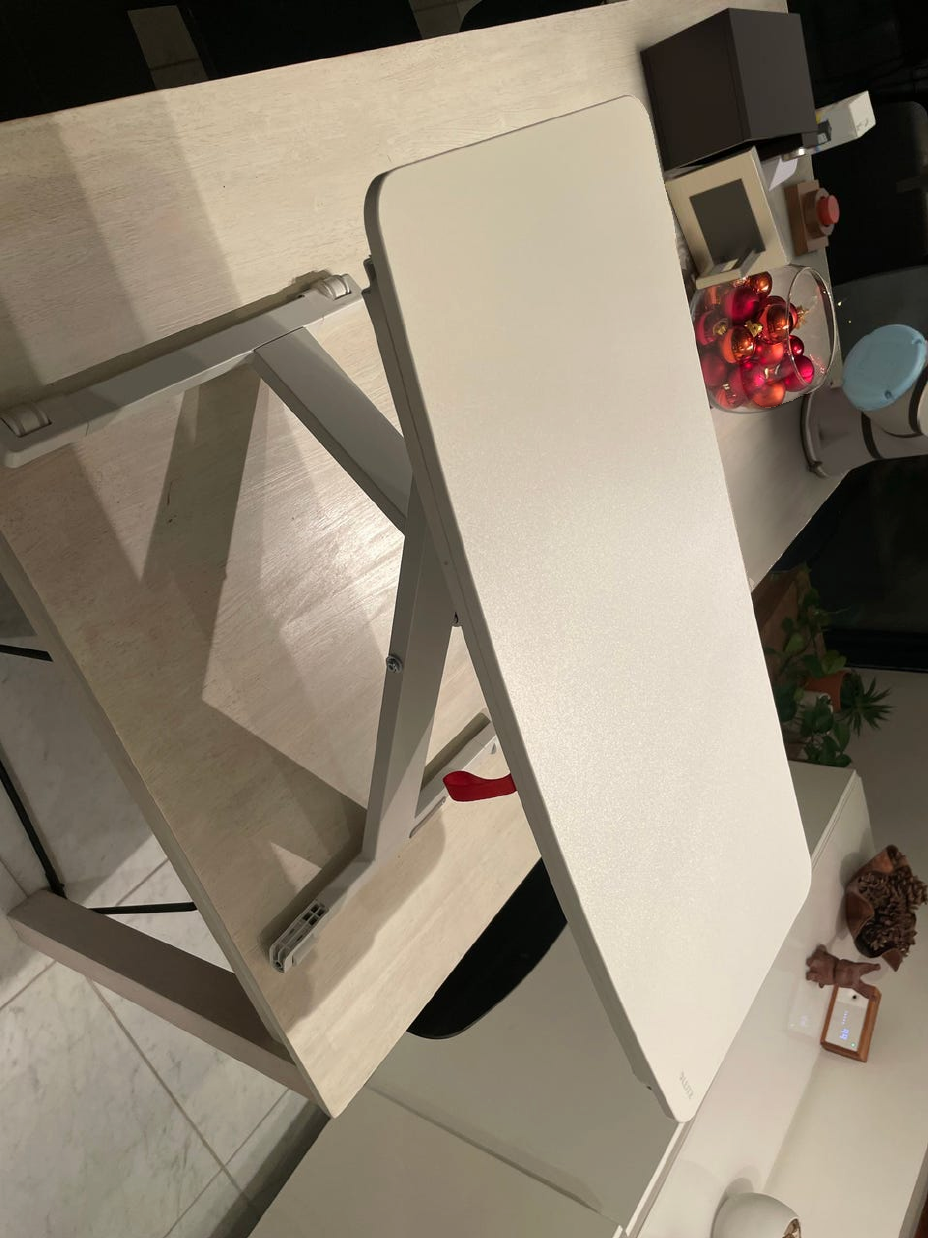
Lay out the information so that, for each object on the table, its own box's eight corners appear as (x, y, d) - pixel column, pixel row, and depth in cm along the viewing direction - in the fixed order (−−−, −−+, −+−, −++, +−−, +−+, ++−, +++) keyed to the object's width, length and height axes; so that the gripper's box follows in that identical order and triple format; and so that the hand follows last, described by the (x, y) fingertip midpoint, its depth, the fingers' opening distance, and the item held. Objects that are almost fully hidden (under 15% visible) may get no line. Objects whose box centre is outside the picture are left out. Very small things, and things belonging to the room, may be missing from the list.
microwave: (738, 179, 133) (821, 149, 125) (667, 192, 120) (755, 159, 112) (714, 53, 129) (799, 13, 121) (638, 51, 116) (728, 6, 107)
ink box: (791, 118, 146) (869, 87, 138) (800, 150, 148) (877, 122, 140) (770, 133, 141) (850, 102, 133) (779, 166, 143) (858, 138, 135)
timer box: (815, 249, 152) (840, 242, 149) (795, 255, 146) (820, 248, 144) (804, 183, 149) (829, 175, 146) (783, 188, 144) (808, 179, 141)
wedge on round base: (746, 198, 135) (781, 174, 143) (791, 183, 131) (825, 159, 138) (729, 132, 132) (765, 112, 140) (775, 114, 127) (810, 94, 135)
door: (684, 313, 123) (770, 291, 115) (641, 206, 116) (729, 174, 108) (708, 282, 127) (792, 259, 119) (668, 177, 120) (754, 145, 112)
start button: (829, 224, 147) (840, 221, 146) (819, 227, 144) (831, 223, 143) (825, 197, 146) (836, 193, 145) (815, 199, 143) (826, 196, 142)
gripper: (1081, 73, 116) (884, 140, 133) (1090, 184, 120) (897, 236, 137) (1093, 72, 121) (902, 137, 138) (1101, 179, 125) (914, 230, 141)
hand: (900, 186), depth 137 cm, fingers closed
